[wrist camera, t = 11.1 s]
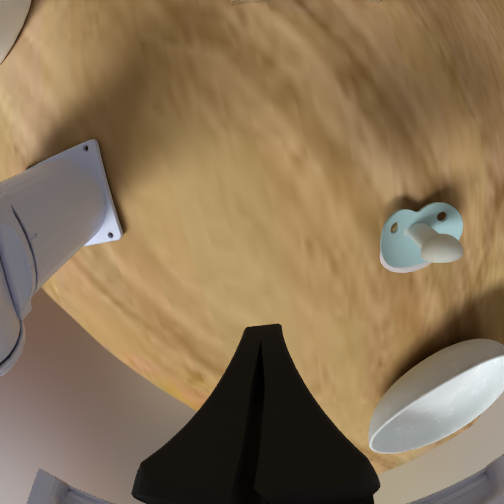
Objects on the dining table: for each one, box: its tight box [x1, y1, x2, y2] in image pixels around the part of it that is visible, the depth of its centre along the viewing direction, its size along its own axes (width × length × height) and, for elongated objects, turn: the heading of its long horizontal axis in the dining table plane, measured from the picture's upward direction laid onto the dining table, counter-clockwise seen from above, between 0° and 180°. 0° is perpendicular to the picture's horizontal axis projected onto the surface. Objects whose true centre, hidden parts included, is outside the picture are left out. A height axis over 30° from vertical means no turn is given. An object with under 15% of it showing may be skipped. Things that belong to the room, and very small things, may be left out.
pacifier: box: [380, 202, 463, 273], centre depth 17 cm, size 7×6×6 cm
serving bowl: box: [369, 339, 504, 453], centre depth 25 cm, size 21×21×7 cm
